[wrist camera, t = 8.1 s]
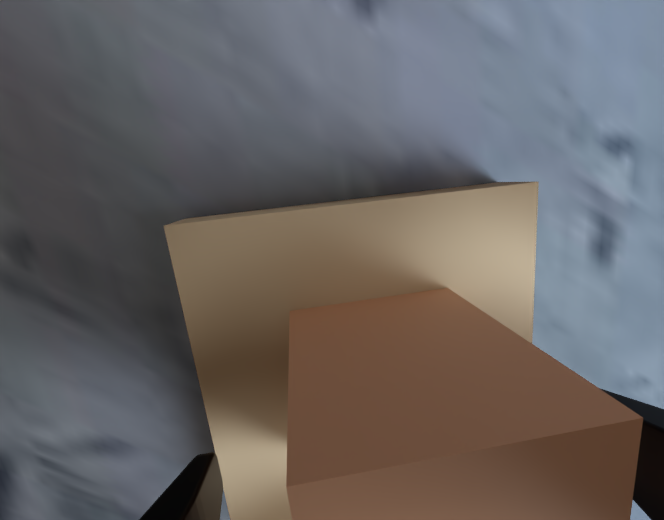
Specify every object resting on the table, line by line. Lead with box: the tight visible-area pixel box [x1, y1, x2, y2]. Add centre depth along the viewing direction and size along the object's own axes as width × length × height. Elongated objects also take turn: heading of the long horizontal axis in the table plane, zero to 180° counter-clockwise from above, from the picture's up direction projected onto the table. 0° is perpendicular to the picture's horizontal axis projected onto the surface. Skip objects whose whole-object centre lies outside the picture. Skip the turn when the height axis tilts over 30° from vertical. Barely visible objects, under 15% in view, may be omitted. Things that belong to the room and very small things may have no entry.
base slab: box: [164, 182, 538, 520], centre depth 12 cm, size 11×11×2 cm
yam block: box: [286, 288, 643, 520], centre depth 8 cm, size 5×5×6 cm
